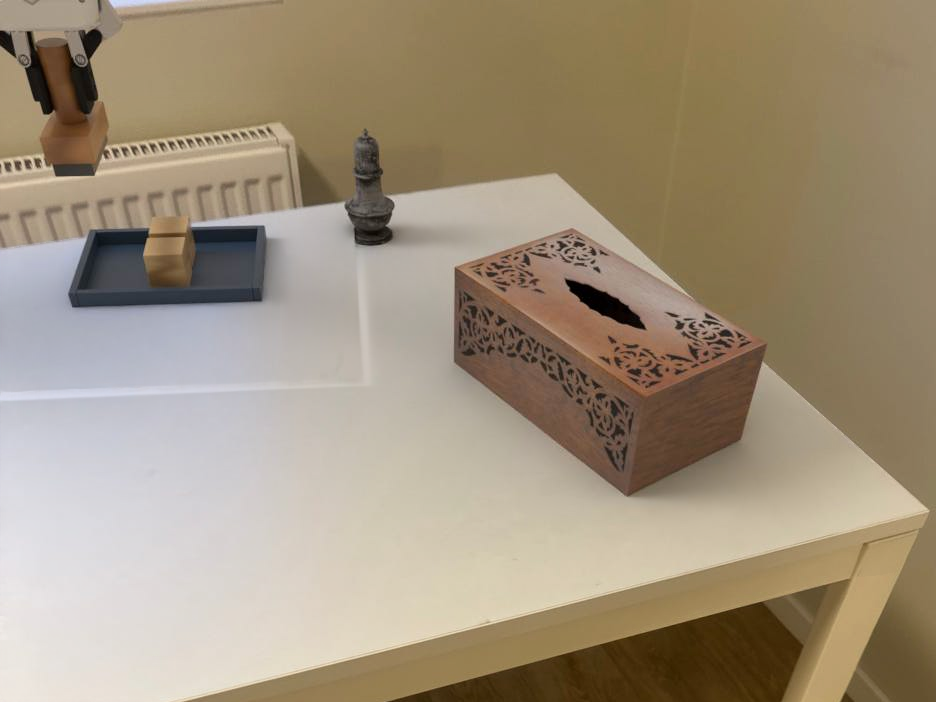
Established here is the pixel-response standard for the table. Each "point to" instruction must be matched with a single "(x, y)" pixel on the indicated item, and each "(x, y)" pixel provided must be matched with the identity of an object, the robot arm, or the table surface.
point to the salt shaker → (369, 195)
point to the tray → (213, 281)
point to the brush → (69, 117)
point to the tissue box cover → (604, 356)
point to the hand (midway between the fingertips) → (69, 107)
